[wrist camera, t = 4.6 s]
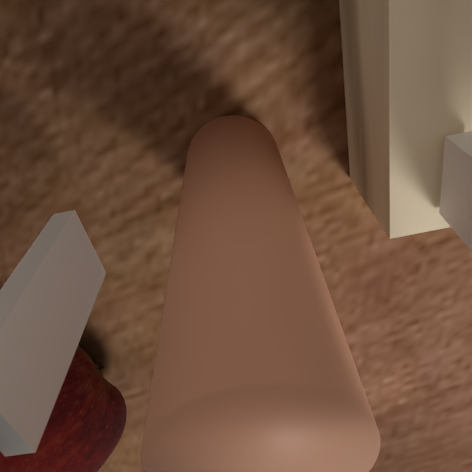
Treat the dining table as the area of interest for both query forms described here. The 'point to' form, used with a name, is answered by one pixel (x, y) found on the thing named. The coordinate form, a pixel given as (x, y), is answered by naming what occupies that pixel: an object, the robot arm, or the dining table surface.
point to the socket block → (405, 103)
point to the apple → (77, 424)
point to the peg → (250, 327)
